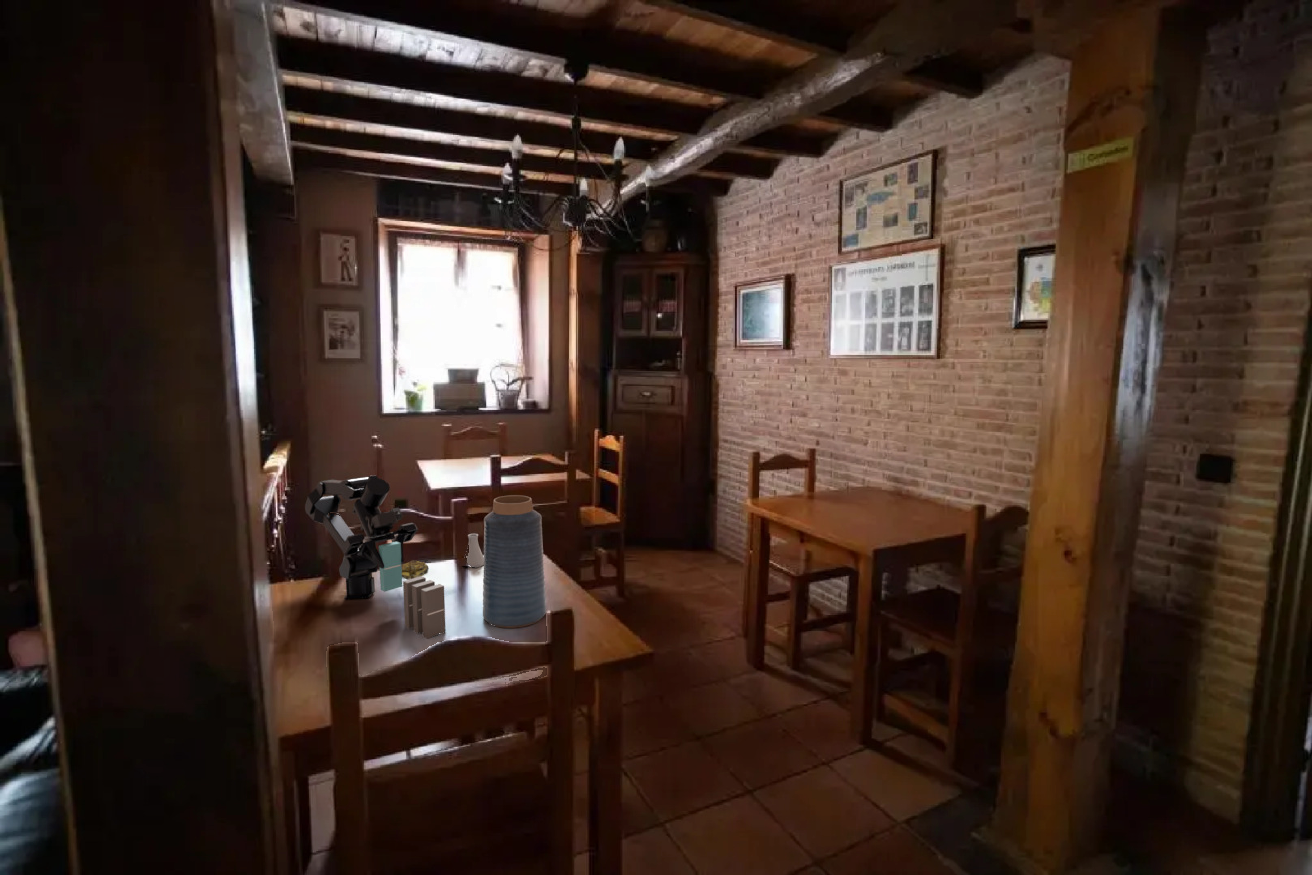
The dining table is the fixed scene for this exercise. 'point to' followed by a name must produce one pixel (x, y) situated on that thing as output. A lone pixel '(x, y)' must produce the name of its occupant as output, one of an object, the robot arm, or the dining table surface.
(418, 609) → the domino
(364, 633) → the dining table surface
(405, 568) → the seal
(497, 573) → the vase
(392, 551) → the teal domino
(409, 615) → the domino
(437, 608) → the domino
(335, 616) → the dining table surface
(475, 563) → the flask
